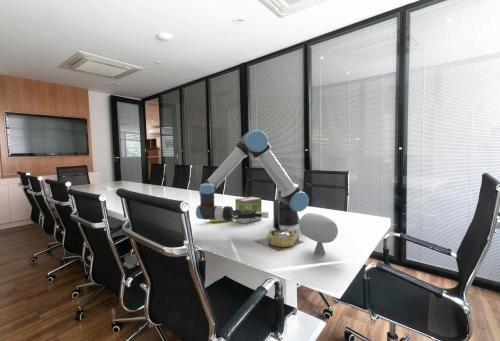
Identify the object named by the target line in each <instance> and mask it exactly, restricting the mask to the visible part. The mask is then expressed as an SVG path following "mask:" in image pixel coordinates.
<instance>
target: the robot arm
mask: <svg viewBox="0 0 500 341" xmlns="http://www.w3.org/2000/svg"><path fill="white" fill-rule="evenodd" d="M268 138H269V137H268V136H267V134H266V133H265V132H264V131H262V130H257V129H253V130H250V131H247V132H246V133H244V135H243V136H242V137H241V138H240V140H239V141H238V142H237V143H236V144H235V146H234V149H233V150H232V152H231V153H230V154H229V155H228V156H227V157H226V158H225V159H224V161H222V163H221V164H220V165H219V166H218V167H217V169H215V170H214V172H213V173H212V174H211V175H210V176H209V177H208V179H207V180H205V181H204V183H202V184H200V186H199V188H198V193H199V196H200V198H199V199H200V202H199V203H200V204H199V205H197V207H196V208H195V216H196V218H197V219H198V220H205V221H206V220H209V221H210V220H219V221H218V222H221V221H220V220H227V221H230V222H231V221H233V220H232V218H233V217H234V219H251V218H254V219H255V218H261V219H262V218H264V219H269V212H268V211H261V212H256V210H255V211H253V210H243V209H240V210H239V209H236V210H234V208H233V206H230V205H229V206H228V205H226V206H224V205H215V191H216V190H217V189H218V187H220V185H222V183H223V182H224V181H225V180H226V179H227V177H228V176H229V175H230V174H231V173H232V172H233V171H234V170H235V168H237V166H238V165H239V164H240V163H241V162H242V161H243V159H245V158H247V157H248V156H249V155H251V156H252V157H253V159H257V160H258V162H259V163H260V164H261V165H262V167H263V169H264V170H265V171H266V172H267V174H268V175H269V177H270V178H271V179H272V181H273V183H274V184H275V185H276V187H277V189H278V190H277V194H278V196H277V199H279V225H285V226H292V225H297V224H298V225H299V223H298V220H300V217H299V213H298V212H302V211H304V210H306V209H307V207H308V206H309V204H310V197H309V195H308V194H307V193H305V192H304V191H302V189H301V188H300V186H299V185H298V184H297V183H294V182H293V181H292V180H291V178H290V177H289V175H288V173H287V172H286V171H285V169H284V167H282V165H281V163H280V162H279V160H278V159H277V158H276V156H275V155H274V153H273V152H272V150H271V149H272V146H271V144H270V143H269V139H268Z"/></svg>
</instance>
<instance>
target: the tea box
mask: <svg viewBox="0 0 500 341" xmlns="http://www.w3.org/2000/svg"><path fill="white" fill-rule="evenodd" d="M234 202H235V206H234V207H235V208H234V209H235V210H236V209H239V210H240V209H243V210H253V211H255V210H256V212H262V198H261V197H256V196H249V197H241V198H235V201H234ZM261 220H262V218H255V219H254V218H251V219H235V220H234V221H236V222H237V223H242V224H247V223H251V222H256V221H261Z"/></svg>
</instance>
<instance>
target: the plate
mask: <svg viewBox="0 0 500 341" xmlns="http://www.w3.org/2000/svg"><path fill="white" fill-rule="evenodd" d="M293 232H294V233H295V234H296V243H295V244H294V245H293V246H288V247H278V246H273V245H271V244H270V243H269V242H268V236H267V237H263V238H261V239H257V240H254V241H253V242H255V243H257V244H259V245H262V246H265V247H266V248H269V249H271V250H274V251H277V252H281V251H283V250H286V249H289V248H292V247H294V246H297V245H301V244H303V243H304V241H303V240H301V239H300V230H299V229H293ZM274 235H279V237H290V233H289V232H286V231H277V232H275V233H274Z"/></svg>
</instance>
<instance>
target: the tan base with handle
mask: <svg viewBox="0 0 500 341" xmlns="http://www.w3.org/2000/svg"><path fill="white" fill-rule="evenodd" d="M272 200H273V206H272V207H273V208H272V209H273V211H272V212H273V229H270V230H269V232H268V233H267V237H268V242H269V243H270V244H271V245H273V246H278V247H288V246H292V247H294V246H293V245H294V244H295V243H296V234H295V233H294V231H293V230H290V229H289V228H284V229H282V228H281V227H280V224H279V199H278V198H277V199H275V198H274V199H272ZM277 231H286V232H289V233H290V237H279V235H274V233H275V232H277Z"/></svg>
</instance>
